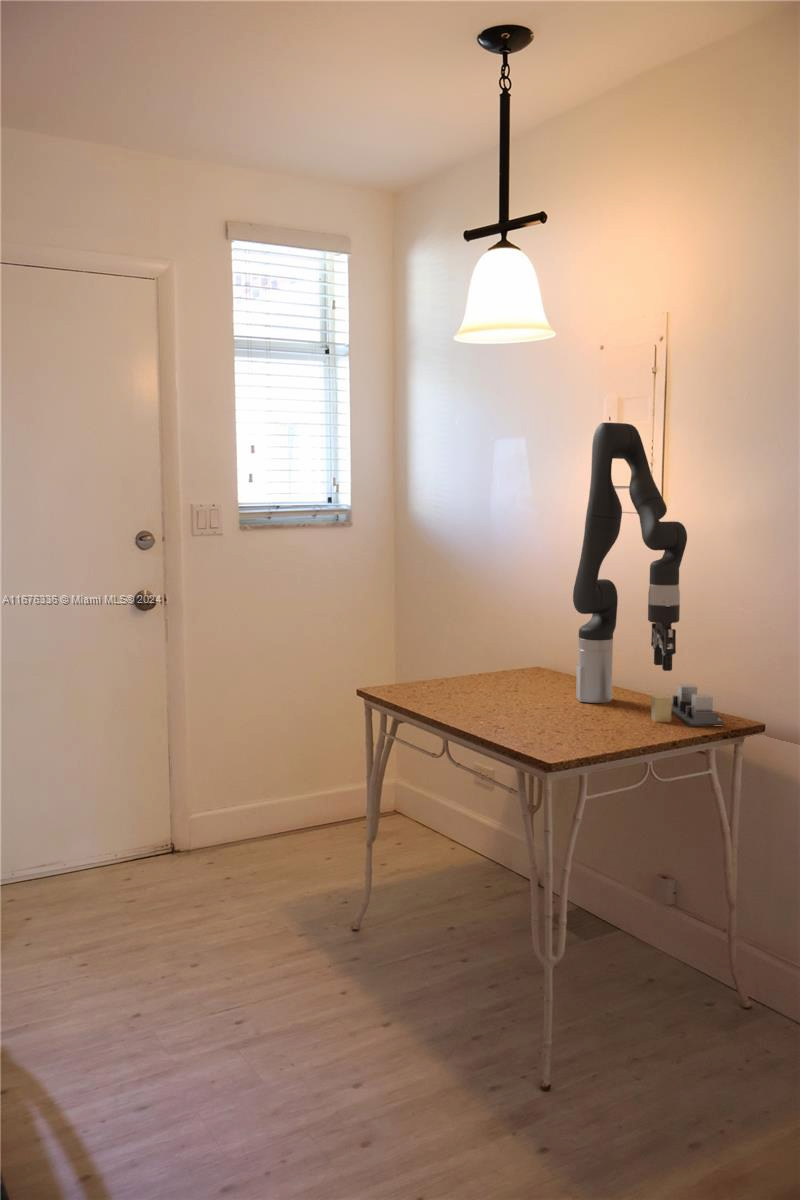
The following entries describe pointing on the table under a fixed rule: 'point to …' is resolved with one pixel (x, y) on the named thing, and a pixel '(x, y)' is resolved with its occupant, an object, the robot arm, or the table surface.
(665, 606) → the robot arm
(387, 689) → the table surface
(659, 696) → the tan rectangular block
